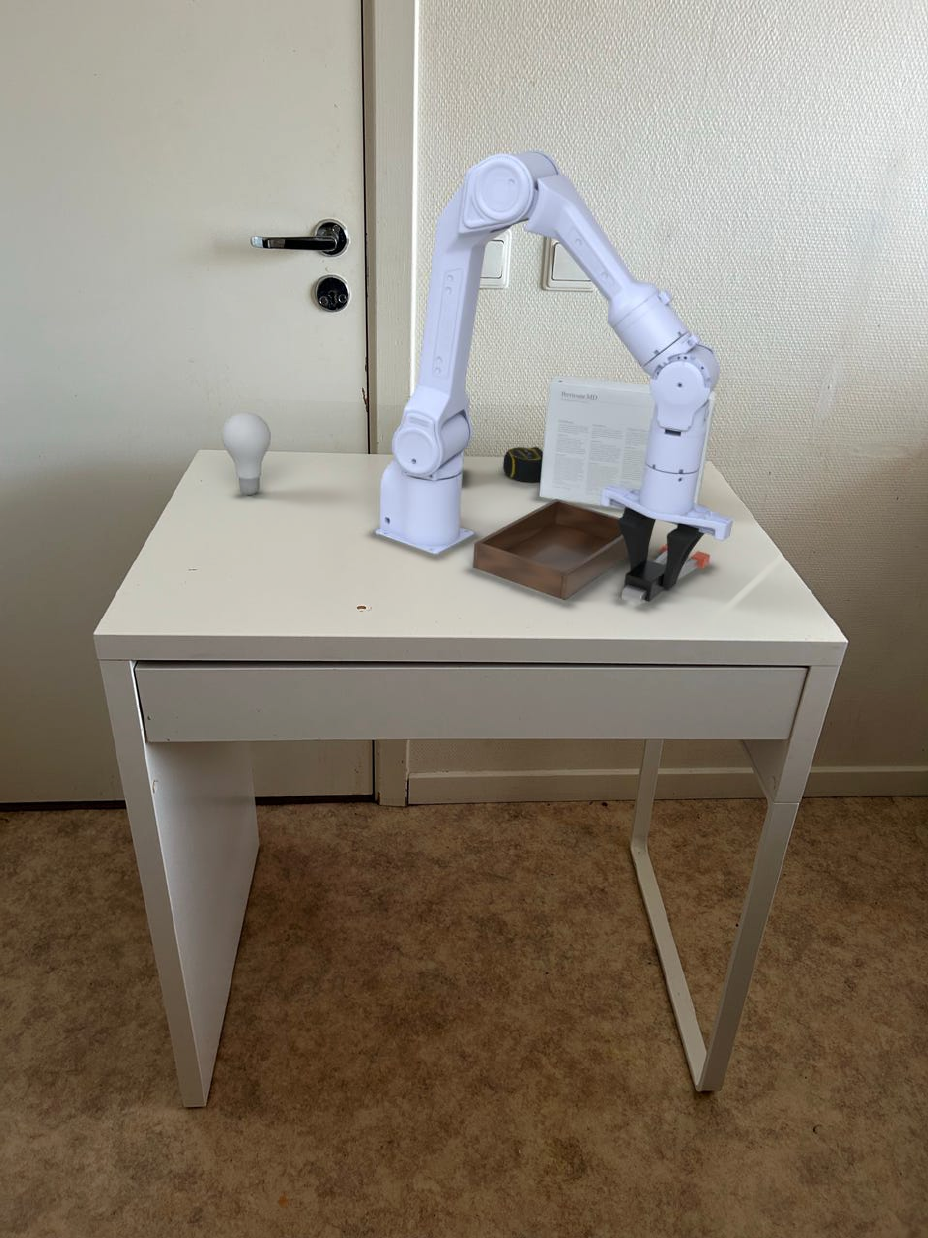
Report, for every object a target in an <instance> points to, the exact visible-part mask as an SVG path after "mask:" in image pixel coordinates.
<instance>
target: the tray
mask: <svg viewBox="0 0 928 1238" xmlns="http://www.w3.org/2000/svg"><path fill="white" fill-rule="evenodd" d="M619 518H620V517H619V516H615V515H612V514H609V513H605V512H602V511H598V510H595V509H592V508H588V507H584V506H582V505H579V504H576V503H575V504H574V503H571V502H570V501H566V500H561V499H553V500H551V501H549V502H547V503H545V504H544V505H542V506H540V507H538V508H536V509H535V510H533V511H530V512H528V513H527V514H525V515H523V516H521V517H520V518H518V519H516V520H514V521H512V522H511V523H509V524H507V525H504V526H503V527H501V528H499V529H498V530H496V531H493V532H492V533H491V534H488V535H487V536H485V537H483V538H481V539H479V540H477V541H475V542H474V544H473V557H472V559H473V560H472V568H474V569H476V570H479V571H482V572H485V573H488V574H490V575H493V576H495V577H498V578H501V579H505V580H506V581H509V582H513V583H514V584H518V585H521V586H524V587H526V588H529V589H532V590H534V591H537V592H540V593H543V594H544V595H545V594H546V595H548V596H551V597H553V598H557V599H559V600H562V601H566V600H567V599H569V598H570V597H572V596H573V595H575V594H577V593H578V592H579V591H581V590H582V589H583V588H585V587H586V586H588V585H589V584H590V583H592V582H594V581H595V580H597V578H599V577H601V576H602V575H603V574H605V573H606V572H608V571H609V570H611V569H612V568H613V567H615V566H617V565H618V564H619V563H620V562H622V561H623V560H625V559H626V558H629V554H628V550H627V546H626V543H625V540H624V537H623V535H622V532H621V530H620V528H619V526H618V520H619Z"/></svg>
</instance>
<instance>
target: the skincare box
mask: <svg viewBox="0 0 928 1238" xmlns="http://www.w3.org/2000/svg"><path fill="white" fill-rule="evenodd" d="M716 398H717V392H716V391H714V390H713V391H712V392H711V394H710V395H709V398H708V399H709V400H710V403H709V414H708V418H707V420H706V422H707V431H706V436H705V442H704V447H703V453H702V459H701V464H700V469H699V475H698V481H697V486H696V492H695V498H694V503H696V504H698V505H699V502H700V497H701V490H702V485H703V479H704V472H705V468H706V467H705V466H706V461H707V455H708V450H709V449H708V448H709V443H710V436H711V431H712V424H713V417H714V412H715V405H716ZM654 406H655V401H654V399H653V397H652V395H651V391H650V384H647V383H636V382H627V381H618V380H608V379H607V380H606V379H597V378H589V377H580V376H579V377H578V376H570V375H569V376H568V375H558V374H555V375H554V376H553V377H552V379H551V380H550V381H549V383H548V393H547V406H546V416H545V427H544V435H543V436H544V437H543V447H542V451H543V460H542V471H541V481H540V483H539V484H540V485H539V494H538V497H541V498H548V499H553V500H555V499H558V500H562V501H567V502H575V503H583V504H589V505H590V504H591V505H598V506H601V505H600V502H601V494H602V489H603V488H605V487H607V486H609V485H610V484H611V485H615V486H619V487H625V488H631V489H638V490H641V484H642V477H643V471H644V464H645V458H646V451H647V444H648V437H649V430H650V424H651V419H652V418H653V413H654ZM611 507H612V508H615V507H614V506H610V508H611Z"/></svg>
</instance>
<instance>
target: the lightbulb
mask: <svg viewBox="0 0 928 1238" xmlns="http://www.w3.org/2000/svg"><path fill="white" fill-rule="evenodd" d="M221 440H222V444H223V447H224V448H225V450H226V452H227V453H228V455H229V456H230V458H231V459H232V462H233V464H234V467H235V474H236V476H237V477H238V485H239V490H240V492H241V493H243V494H245V495H247V496H253V495H255V493H257V492H259V490H260V485H261V484H260V481H261V479H260V478H261V477H260V476H261V475H262V464H263V461H264V457H265V455H266V454H267V452H268V450H269V447H270V445H271V440H272V434H271V430H270V428H269V425H268V423H267V422H266V421H265V420H264V418H263V417H261V416H260V415H258V414H256V413H253V412H251V411H240V412H237V413H234V414H233V415H231V416H229V417H228V418H227V420H226V421H225V422H224V424H223V426H222V430H221Z"/></svg>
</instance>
